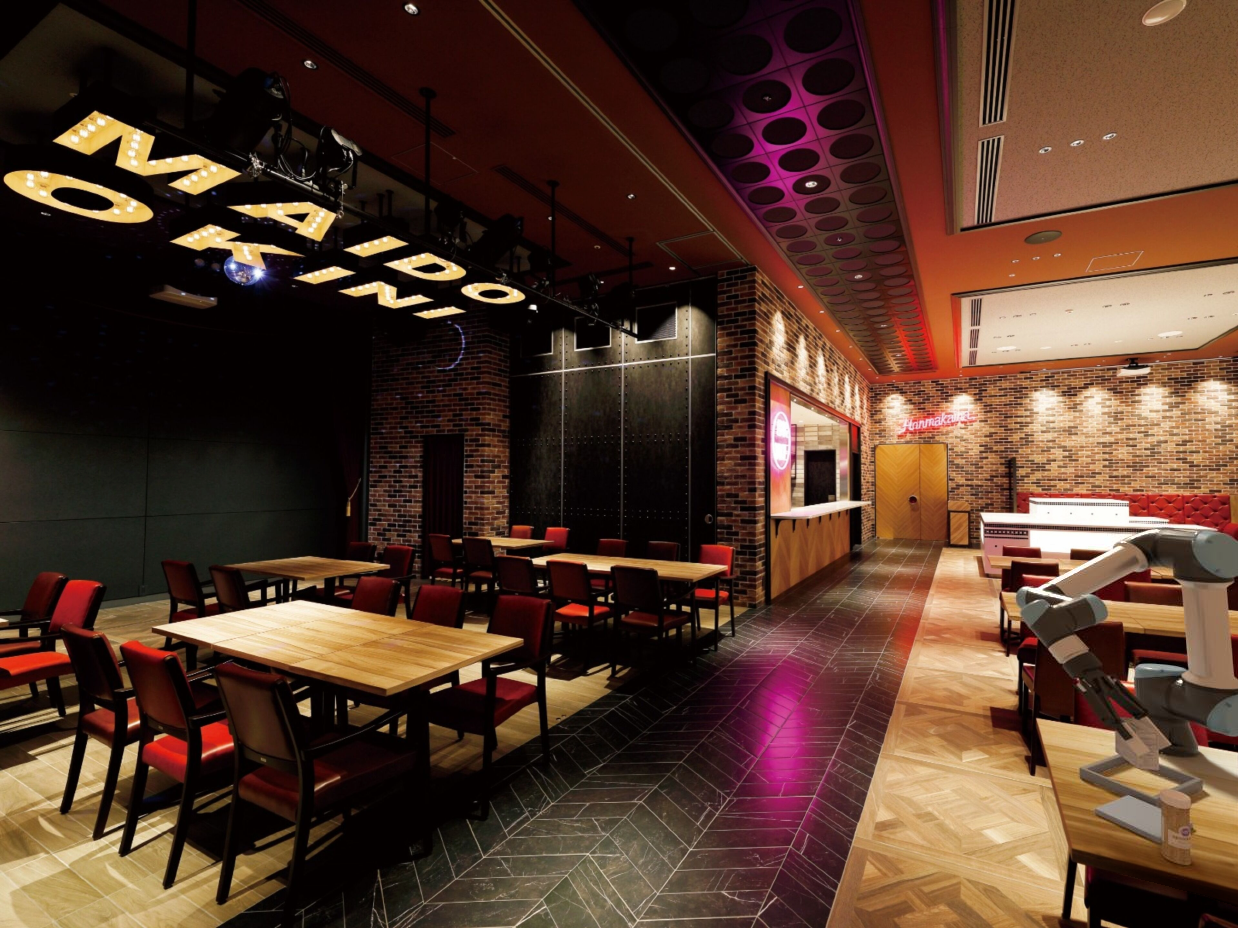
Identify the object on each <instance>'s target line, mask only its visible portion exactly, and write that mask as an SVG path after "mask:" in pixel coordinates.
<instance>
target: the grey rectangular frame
mask: <svg viewBox="0 0 1238 928" xmlns="http://www.w3.org/2000/svg"><path fill="white" fill-rule="evenodd" d="M1126 763H1127V764H1130V765H1132V764H1131V763H1130V762H1129V761H1127V760H1126V759H1124V758H1123V757H1122V756H1120V755H1119V754H1118V753H1116V754H1114V755H1112V756H1109V757H1106V758H1104V759H1101V760H1097V761H1095V762H1092V763H1089V764H1086V765H1083V766H1081V767H1079V771H1078V772H1079V778H1081V779H1083V780H1085V781H1088V782H1090V783H1091V784H1092V783H1093V784H1094V785H1096V786H1099V787H1101V788H1103V789H1106V790H1108V789H1109V790H1108V791H1110V792H1113V791H1114V792H1113V793H1115V792H1116V794H1118V795H1120V796H1122V797H1124V796H1127V795H1129V796H1132V797H1134V798H1136V799H1139V800H1141V801H1144V802H1146V803H1148V804H1151V805H1153V806H1155V807H1158V808H1160V809H1161V807H1162V806H1161V799H1160V792H1159V793H1157V794H1154V795H1151V794H1148V793H1146V792H1143V791H1142V790H1139V789H1136V788H1134V787H1132V786H1129V785H1127V784H1124V783H1122V782H1119V781H1116V780H1115V779H1113V778H1110V777H1107V776H1105V775H1102V774H1101V773H1104V771H1105V772H1107V770H1108V771H1110V770H1112V768H1113V769H1115V768H1114V767H1116V768H1118V766H1119V767H1121V766H1124V765H1127V764H1126ZM1109 769H1110V770H1109ZM1145 770H1146V771H1149V769H1145ZM1151 771H1152V773H1154V774H1157V775H1159V774H1160V775H1159V776H1162V777H1165V778H1167V777H1168V779H1171V780H1173V781H1175V782H1178V783H1180V784H1179V785H1176V786H1174V787H1172V788H1170V789H1172V790H1176V791H1179V792H1181V793H1184V794H1186V795H1187V796H1188V797H1190V796H1191V795H1193V794H1196V793H1198V792H1200V791H1202V790H1204V786H1203V785H1204V780H1203V779H1202V778H1200V777H1198V776H1197V777H1196V776H1194V775H1191V774H1188V773H1186V772H1183V771H1181V770H1178V769H1175V768H1172V767H1170V766H1166V765H1165V764H1161V763H1159V770H1150V771H1149V772H1151Z"/></svg>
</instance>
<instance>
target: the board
mask: <svg viewBox="0 0 1238 928" xmlns="http://www.w3.org/2000/svg"><path fill="white" fill-rule="evenodd" d="M1094 814H1095V815H1097V816H1100V817H1102V818H1104V819H1105V820H1108V821H1110V822H1112V823H1115V824H1117V825H1118V826H1121V827H1123V828H1125V829H1127V830H1130V831H1132V832H1134V833H1135V834H1138V835H1139V836H1142V837H1145V838H1147V839H1148V840H1150V841H1153V842H1155V843H1157V844H1162V838H1161V808H1158V807H1155V806H1153V805H1151V804H1148V803H1146V802H1144V801H1141V800H1139V799H1136V798H1134V797H1132V796H1129V795H1127V796H1122V797H1120V798H1118V799H1117V798H1116V799H1115V800H1113V801H1110V802H1107V803H1105V804H1102V805H1100V806H1097V807H1095V808H1094ZM1193 826H1194V822H1193V821H1191V820H1190V830H1191V829H1192V828H1193Z"/></svg>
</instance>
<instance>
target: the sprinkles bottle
mask: <svg viewBox="0 0 1238 928" xmlns="http://www.w3.org/2000/svg"><path fill="white" fill-rule="evenodd" d="M1159 793H1160V799H1161V806H1162V807H1161V808H1160V809H1161V838H1162V843H1161V855H1162V857H1164V858H1165V859H1166V860H1168V861H1170V862H1172V863H1174V864H1178V865H1180V866H1181V865H1182V866H1190V865H1191V864H1192V860H1191V858H1192V857H1191V849H1192V844H1191V843H1192V841H1191V840H1192V839H1191V836H1192V835H1191V834H1192V833H1191V829H1190V821H1191V819H1190V817H1191V815H1190V810H1191V807H1192V804H1191V803H1192V801H1191V798H1190V796H1187V795H1186V794H1184V793H1181V792H1179V791H1176V790H1172V789H1171V788H1162V789H1160V791H1159Z"/></svg>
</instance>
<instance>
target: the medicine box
mask: <svg viewBox="0 0 1238 928" xmlns="http://www.w3.org/2000/svg"><path fill="white" fill-rule="evenodd" d="M1119 717H1120V719H1121V721H1122V723H1125V722H1126V723H1127V724H1128V725H1129V727H1130V728H1131V729H1132V730H1133V731H1134V732H1135V734H1136V735H1137V736H1138V737H1139V738H1140V739H1141V741H1142V742H1143V743H1144V744H1145V745H1146V746H1147V748H1148V749H1149V750H1150V752H1148V753H1145V754H1143V755H1141V756H1137V754H1136V753H1135V752H1134V751H1133V750H1132V748H1131V747H1130V746H1129V745H1128V744H1127V742H1126V741H1125V740H1124V739H1123V738H1122V737H1121V735H1120V734H1119V733H1118V732H1117V731H1116V729H1115V728H1114V730H1115V731H1114V732H1115V733H1114V738H1115V739H1114V740H1115V742H1114V744H1115V745H1114V746H1115V753H1116V754H1119V755H1120V756H1122V757H1123V758H1124V759H1126V760H1127V761H1129V762H1130V763H1131V764H1130V763H1129V764H1130V765H1133V766H1134V767H1135V768H1137V769H1140V770H1146V769H1149V770H1159V764H1160V762H1159V761H1160V758H1159V755H1160V752H1159V748H1158V733H1157V732H1156V731H1155V730H1153V729H1151V728H1150V727H1148V726H1147V725H1145V724H1143V723H1142V722H1140V721H1138V720H1137V719H1134V718H1133V717H1123V716H1119ZM1122 723H1121V724H1122ZM1149 770H1148V771H1149Z"/></svg>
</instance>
